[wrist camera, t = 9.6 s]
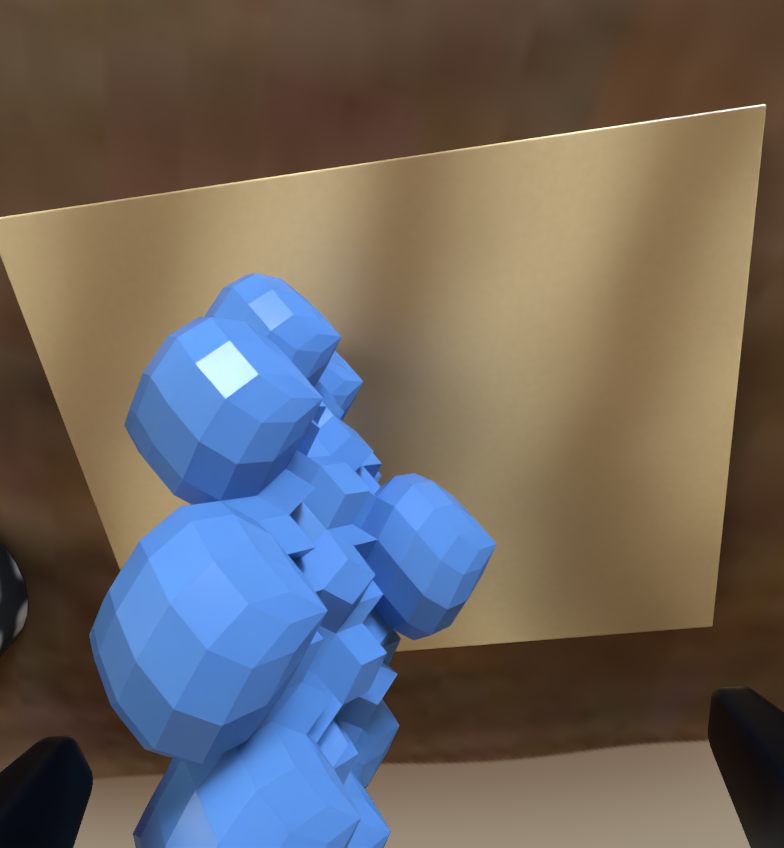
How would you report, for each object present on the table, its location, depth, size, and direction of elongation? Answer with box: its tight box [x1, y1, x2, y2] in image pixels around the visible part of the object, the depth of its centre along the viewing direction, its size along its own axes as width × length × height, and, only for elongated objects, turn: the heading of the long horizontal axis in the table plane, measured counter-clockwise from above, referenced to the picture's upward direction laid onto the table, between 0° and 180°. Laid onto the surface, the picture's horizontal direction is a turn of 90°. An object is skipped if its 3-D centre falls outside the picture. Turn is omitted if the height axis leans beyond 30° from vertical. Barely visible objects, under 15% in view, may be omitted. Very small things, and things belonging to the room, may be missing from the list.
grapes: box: [89, 273, 496, 848], centre depth 12 cm, size 12×7×12 cm, turn 9°
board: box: [0, 104, 766, 652], centre depth 18 cm, size 20×16×2 cm
